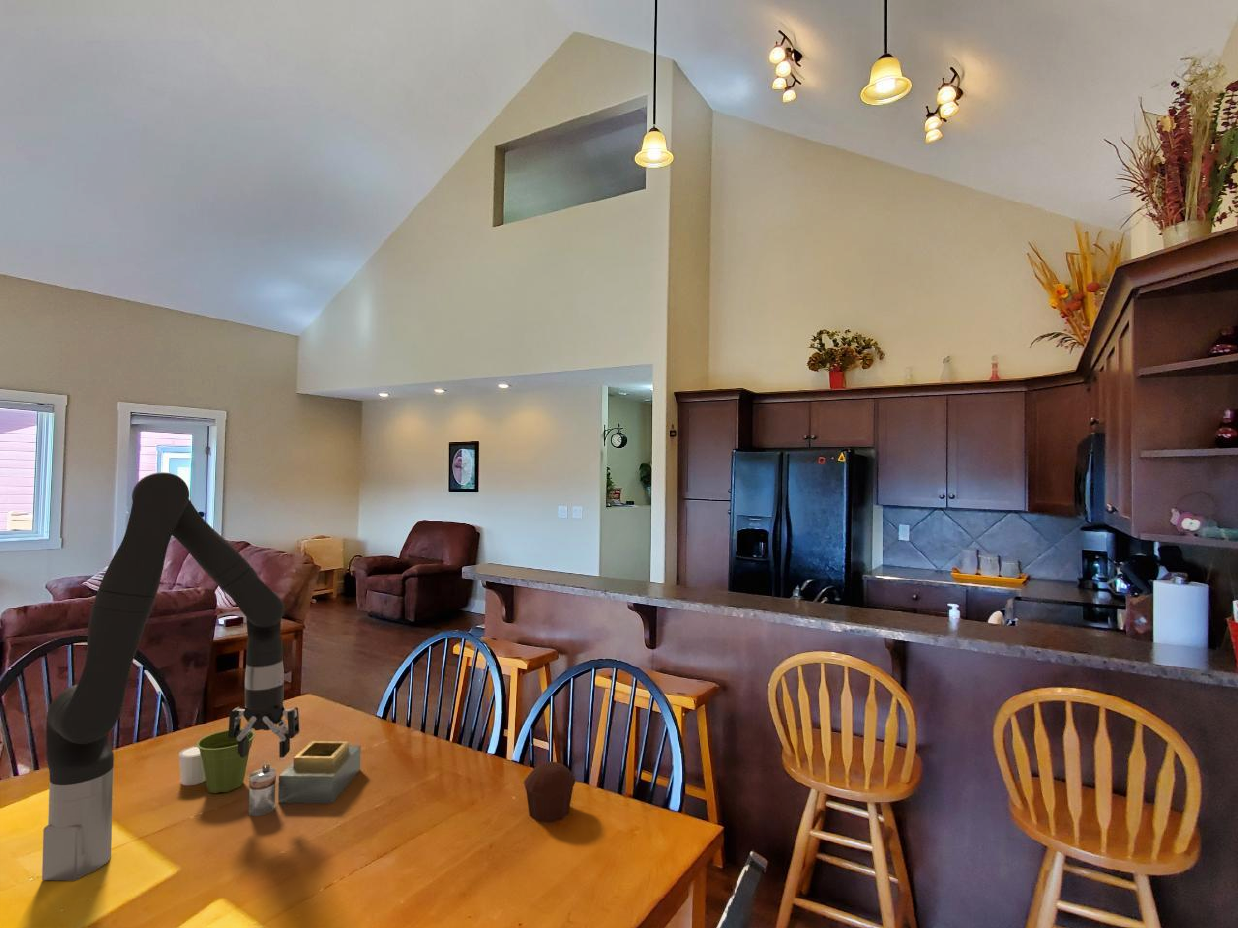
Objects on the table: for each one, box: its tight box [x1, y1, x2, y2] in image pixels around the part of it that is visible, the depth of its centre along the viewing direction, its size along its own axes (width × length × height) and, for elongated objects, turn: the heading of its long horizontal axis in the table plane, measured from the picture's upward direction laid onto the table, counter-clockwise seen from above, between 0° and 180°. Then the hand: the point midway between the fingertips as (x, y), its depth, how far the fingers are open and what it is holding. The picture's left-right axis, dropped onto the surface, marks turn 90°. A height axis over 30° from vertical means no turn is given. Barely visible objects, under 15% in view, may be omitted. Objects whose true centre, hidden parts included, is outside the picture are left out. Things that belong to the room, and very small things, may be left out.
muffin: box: [523, 761, 576, 823], centre depth 141 cm, size 12×11×10 cm
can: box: [248, 764, 277, 817], centre depth 139 cm, size 5×5×9 cm
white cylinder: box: [178, 745, 206, 786], centre depth 152 cm, size 7×7×7 cm
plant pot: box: [195, 728, 256, 794], centre depth 149 cm, size 12×12×11 cm
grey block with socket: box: [277, 740, 362, 804], centre depth 151 cm, size 16×12×8 cm
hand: (264, 755), depth 140 cm, fingers open, 8 cm apart
